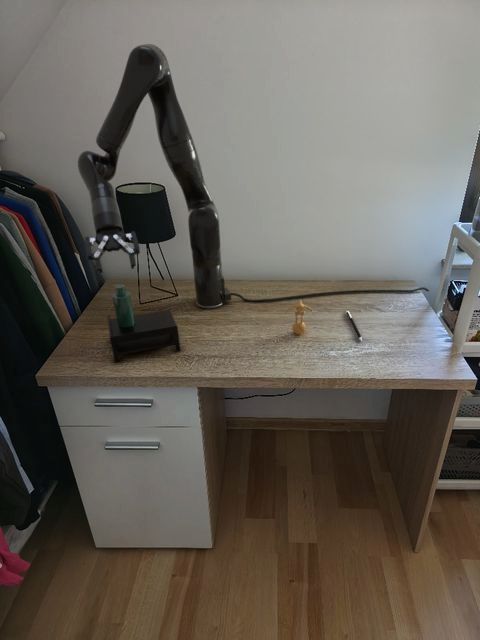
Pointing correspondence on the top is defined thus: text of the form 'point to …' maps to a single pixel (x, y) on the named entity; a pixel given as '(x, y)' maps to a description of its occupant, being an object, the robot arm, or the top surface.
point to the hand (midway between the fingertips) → (117, 269)
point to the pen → (354, 326)
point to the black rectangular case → (144, 333)
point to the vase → (123, 306)
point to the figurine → (298, 325)
